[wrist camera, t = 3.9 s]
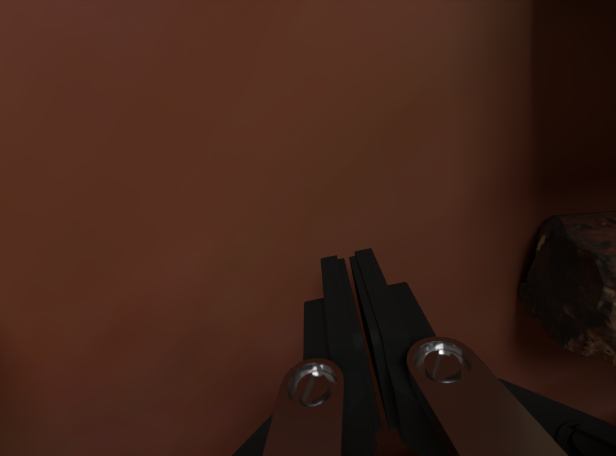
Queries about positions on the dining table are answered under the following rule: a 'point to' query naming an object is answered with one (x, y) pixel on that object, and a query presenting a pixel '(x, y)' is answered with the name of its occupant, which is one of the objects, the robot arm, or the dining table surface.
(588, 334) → the brick
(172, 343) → the dining table surface
